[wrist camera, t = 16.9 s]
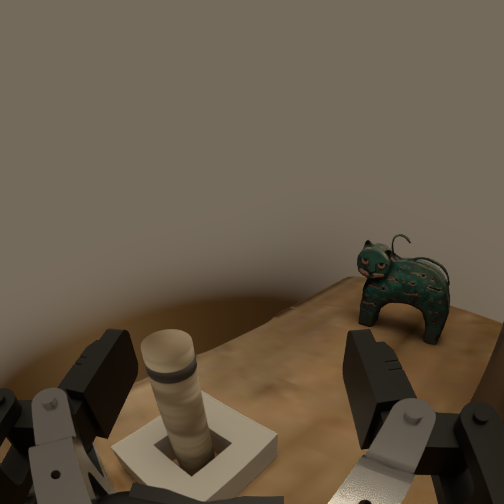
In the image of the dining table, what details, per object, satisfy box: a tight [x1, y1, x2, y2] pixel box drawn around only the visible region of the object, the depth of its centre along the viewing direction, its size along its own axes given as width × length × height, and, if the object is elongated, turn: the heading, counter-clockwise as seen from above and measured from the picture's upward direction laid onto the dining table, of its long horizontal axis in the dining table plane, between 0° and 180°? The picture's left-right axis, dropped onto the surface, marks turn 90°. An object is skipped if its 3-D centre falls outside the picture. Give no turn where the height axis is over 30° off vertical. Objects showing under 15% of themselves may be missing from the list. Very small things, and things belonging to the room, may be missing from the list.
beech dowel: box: [141, 329, 215, 477], centre depth 29 cm, size 5×5×20 cm
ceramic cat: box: [357, 234, 450, 345], centre depth 55 cm, size 20×6×20 cm, turn 49°
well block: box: [111, 390, 278, 502], centre depth 31 cm, size 15×13×5 cm
